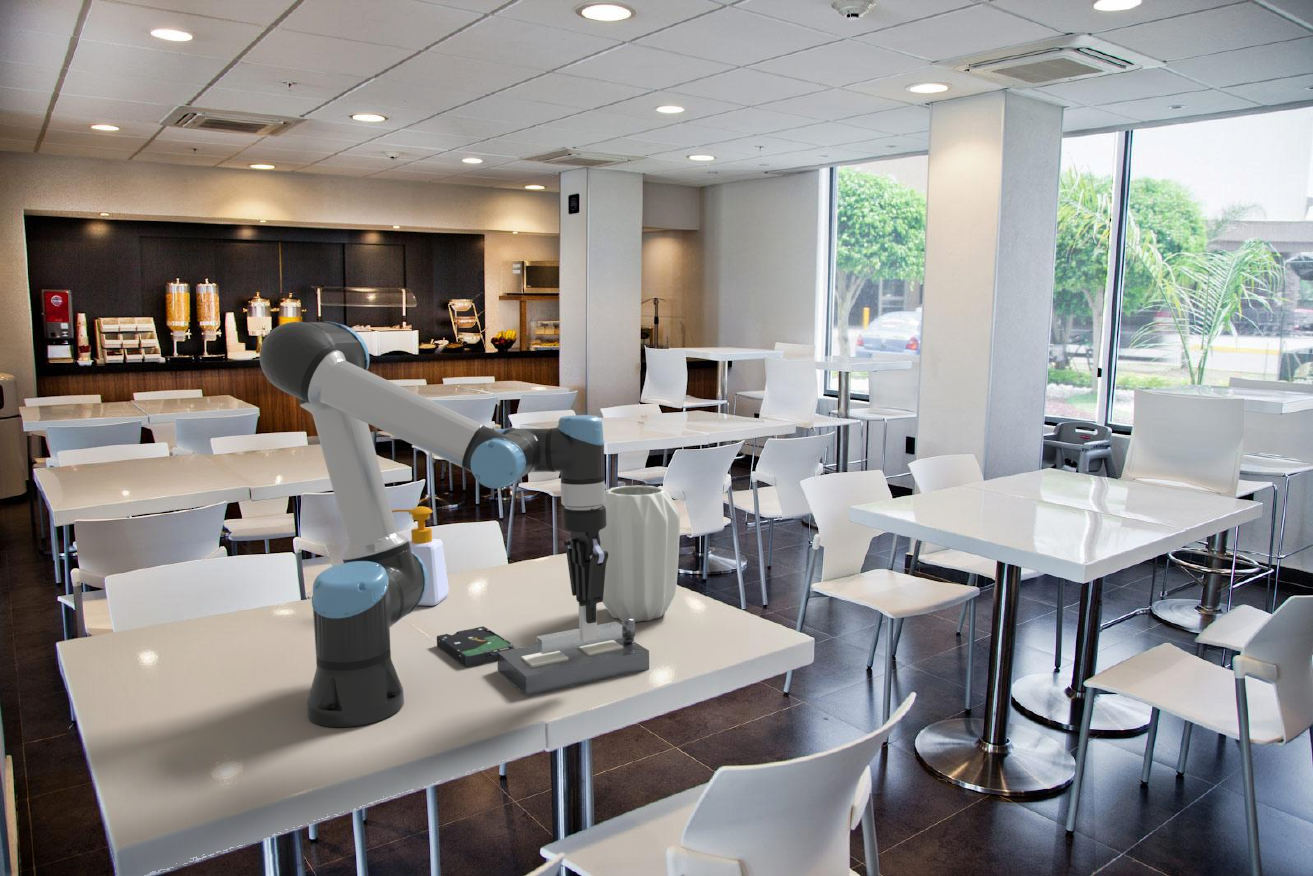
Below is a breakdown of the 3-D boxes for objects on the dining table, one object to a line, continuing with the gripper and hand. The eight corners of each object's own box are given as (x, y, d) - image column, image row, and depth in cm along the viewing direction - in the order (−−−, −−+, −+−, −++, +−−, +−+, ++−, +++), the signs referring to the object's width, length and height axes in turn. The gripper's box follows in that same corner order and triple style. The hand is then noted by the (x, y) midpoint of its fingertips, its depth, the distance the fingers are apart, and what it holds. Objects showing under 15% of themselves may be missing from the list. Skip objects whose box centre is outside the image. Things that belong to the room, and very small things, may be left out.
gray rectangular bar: (631, 633, 172) (630, 616, 172) (637, 636, 170) (637, 619, 170) (536, 651, 163) (536, 633, 163) (542, 655, 161) (541, 637, 160)
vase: (631, 634, 186) (629, 502, 183) (575, 613, 200) (572, 490, 197) (700, 614, 198) (699, 490, 195) (642, 595, 213) (641, 480, 210)
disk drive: (435, 649, 180) (466, 670, 168) (435, 636, 180) (466, 656, 168) (483, 638, 186) (517, 658, 174) (483, 625, 186) (516, 644, 174)
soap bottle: (395, 593, 217) (391, 502, 214) (451, 595, 215) (448, 503, 212) (378, 605, 207) (373, 510, 205) (436, 607, 205) (432, 511, 203)
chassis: (526, 696, 155) (525, 672, 154) (497, 670, 167) (497, 647, 166) (649, 669, 167) (649, 646, 166) (614, 646, 179) (613, 625, 178)
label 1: (531, 667, 159) (531, 665, 159) (521, 658, 163) (521, 656, 163) (568, 659, 162) (568, 657, 162) (557, 651, 166) (557, 649, 166)
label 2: (588, 655, 164) (588, 653, 164) (577, 647, 168) (577, 645, 168) (623, 648, 168) (623, 646, 167) (610, 640, 172) (610, 638, 172)
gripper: (621, 509, 152) (625, 645, 155) (587, 497, 163) (591, 625, 166) (580, 514, 148) (585, 654, 151) (548, 502, 159) (553, 633, 162)
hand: (588, 639), depth 158 cm, fingers closed
